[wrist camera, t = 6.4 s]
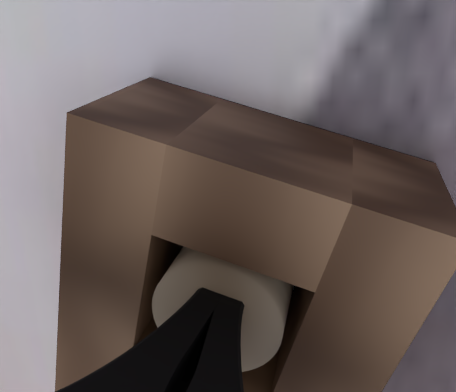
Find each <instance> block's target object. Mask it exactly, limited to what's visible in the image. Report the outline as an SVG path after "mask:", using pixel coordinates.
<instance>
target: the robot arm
mask: <svg viewBox="0 0 456 392" xmlns="http://www.w3.org/2000/svg"><path fill="white" fill-rule="evenodd" d="M243 310H244V304H243V302H242V301H239V300H236V299H234V298H231V297H228V296H225V295H222V294H220V293H217V292H214V291H211V290H209V289H206V288H203V287H202V288H199V289H198V290H197V291H196V292H195V293H194V294H193V295H192V296H191V298H190V299H189V300H188V301H187V302H186V303H185V304H184V305H183V306H182V307H181V308H180V309H178V310H177V311H176V312H175V313H174V314H173V315H172V316H171V317H170V318H168V319H167V320H166V321H165V322H164V323H163V324H162V325H160V326H159V327H158V328H157V329H156V330H154V331H153V332H152V333H150V334H149V335H148V336H146V337H145V338H144V339H143V340H141V341H140V342H139V343H137V344H136V345H135V346H133V347H132V348H130V349H129V350H127V351H126V352H125V353H123V354H122V355H120V356H119V357H117V358H115V359H114V360H112V361H111V362H109V363H108V364H106V365H104V366H103V367H101V368H99V369H97V370H96V371H94V372H92V373H90V374H89V375H87V376H85V377H84V378H82V379H80V380H78V381H76V382H74V383H72V384H70V385H68V386H66V387H64V388H62V389H60V390H58V391H56V392H244V388H243V378H242V366H241V324H242V315H243Z"/></svg>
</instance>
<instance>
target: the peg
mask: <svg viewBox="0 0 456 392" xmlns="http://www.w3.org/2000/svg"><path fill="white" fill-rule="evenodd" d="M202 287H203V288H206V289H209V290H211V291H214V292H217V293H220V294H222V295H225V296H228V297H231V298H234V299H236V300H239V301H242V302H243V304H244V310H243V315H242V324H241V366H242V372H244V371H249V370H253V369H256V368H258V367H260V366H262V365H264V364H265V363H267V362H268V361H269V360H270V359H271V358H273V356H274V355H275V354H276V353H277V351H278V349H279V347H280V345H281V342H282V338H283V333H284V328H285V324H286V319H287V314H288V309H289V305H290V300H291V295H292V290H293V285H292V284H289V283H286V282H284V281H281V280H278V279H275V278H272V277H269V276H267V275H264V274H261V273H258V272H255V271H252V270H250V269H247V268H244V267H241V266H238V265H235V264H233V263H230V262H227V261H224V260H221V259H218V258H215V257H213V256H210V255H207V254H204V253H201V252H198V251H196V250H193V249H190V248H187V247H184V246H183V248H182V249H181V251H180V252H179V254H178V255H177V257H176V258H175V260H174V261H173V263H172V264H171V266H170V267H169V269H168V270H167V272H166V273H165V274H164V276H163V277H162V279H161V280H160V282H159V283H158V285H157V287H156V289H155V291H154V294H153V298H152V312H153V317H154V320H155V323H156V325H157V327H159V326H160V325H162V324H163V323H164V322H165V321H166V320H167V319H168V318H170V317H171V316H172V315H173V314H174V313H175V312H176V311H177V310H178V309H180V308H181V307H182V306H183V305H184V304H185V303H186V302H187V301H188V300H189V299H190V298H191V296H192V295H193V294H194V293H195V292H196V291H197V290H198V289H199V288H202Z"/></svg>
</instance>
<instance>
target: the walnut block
mask: <svg viewBox="0 0 456 392" xmlns="http://www.w3.org/2000/svg"><path fill="white" fill-rule="evenodd" d="M183 246H184V247H187V248H190V249H193V250H196V251H198V252H201V253H204V254H207V255H210V256H213V257H215V258H218V259H221V260H224V261H227V262H230V263H233V264H235V265H238V266H241V267H244V268H247V269H250V270H252V271H255V272H258V273H261V274H264V275H267V276H269V277H272V278H275V279H278V280H281V281H284V282H286V283H289V284H292V285H295V286H296V287H295V290H294V292H293V295H292V298H291V300H290V305H289V309H288V314H287V319H286V324H285V328H284V333H283V338H282V342H281V345H280V347H279V349H278V351H277V353H276V354H275V355H274V356H273V358H271V359H270V360H269V361H268V362H267V363H265V364H264V365H262V366H260V367H258V368H256V369H253V370H249V371H244V372H242V378H243V388H244V392H382V390H383V389H384V387H385V385H386V384H387V382H388V380H389V379H390V377H391V376H392V374H393V372H394V371H395V369H396V367H397V366H398V364H399V362H400V361H401V359H402V357H403V356H404V354H405V352H406V351H407V349H408V347H409V346H410V344H411V343H412V341H413V339H414V338H415V336H416V334H417V333H418V331H419V329H420V328H421V326H422V324H423V323H424V321H425V319H426V318H427V316H428V315H429V313H430V311H431V310H432V308H433V306H434V305H435V303H436V301H437V300H438V298H439V296H440V295H441V293H442V291H443V290H444V288H445V286H446V285H447V283H448V282H449V280H450V278H451V277H452V275H453V273H454V272H455V270H456V207H455V205H454V203H453V200H452V198H451V196H450V194H449V192H448V190H447V187H446V185H445V183H444V181H443V179H442V176H441V174H440V172H439V170H438V168H437V166H436V163H433V162H430V161H427V160H423V159H420V158H417V157H413V156H410V155H407V154H403V153H400V152H397V151H393V150H390V149H387V148H383V147H380V146H377V145H373V144H370V143H367V142H364V141H360V140H357V139H354V138H350V137H347V136H344V135H340V134H337V133H334V132H330V131H327V130H324V129H320V128H317V127H314V126H310V125H307V124H304V123H300V122H297V121H294V120H290V119H287V118H284V117H280V116H277V115H274V114H270V113H267V112H264V111H260V110H257V109H254V108H250V107H247V106H244V105H240V104H237V103H234V102H230V101H227V100H224V99H220V98H217V97H214V96H211V95H207V94H204V93H201V92H197V91H194V90H191V89H187V88H184V87H181V86H177V85H174V84H171V83H167V82H164V81H161V80H157V79H154V78H151V77H149V78H147V79H145V80H142V81H140V82H138V83H135V84H133V85H131V86H128V87H126V88H124V89H121V90H119V91H117V92H114V93H112V94H110V95H107V96H105V97H103V98H100V99H98V100H96V101H93V102H91V103H88V104H86V105H84V106H81V107H79V108H77V109H74V110H72V111H70V112H67V121H66V144H65V168H64V192H63V216H62V240H61V264H60V287H59V311H58V335H57V359H56V383H55V392H56V391H58V390H60V389H62V388H64V387H66V386H68V385H70V384H72V383H74V382H76V381H78V380H80V379H82V378H84V377H85V376H87V375H89V374H90V373H92V372H94V371H96V370H97V369H99V368H101V367H103V366H104V365H106V364H108V363H109V362H111V361H112V360H114V359H115V358H117V357H119V356H120V355H122V354H123V353H125V352H126V351H127V350H129V349H130V348H132V347H133V346H135V345H136V344H137V343H139V342H140V341H141V340H143V339H144V338H145V337H146V336H148V335H149V334H150V333H152V332H153V331H154V330H156V329H157V328H158V327H157V325H156V323H155V320H154V317H153V312H152V298H153V294H154V291H155V289H156V287H157V285H158V283H159V282H160V280H161V279H162V277H163V276H164V274H165V273H166V272H167V270H168V269H169V267H170V266H171V264H172V263H173V261H174V260H175V258H176V257H177V255H178V254H179V252H180V251H181V249H182V248H183Z"/></svg>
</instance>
